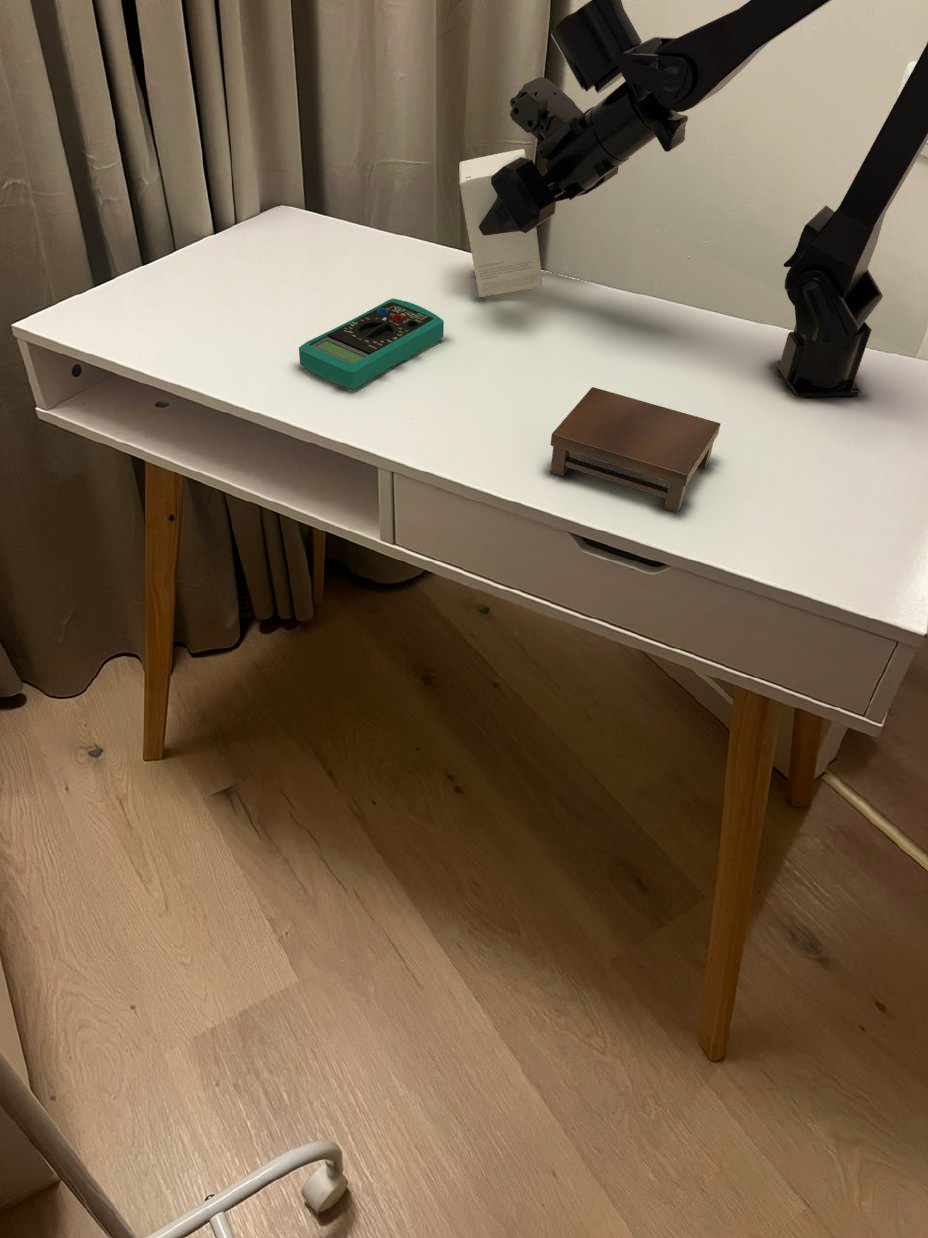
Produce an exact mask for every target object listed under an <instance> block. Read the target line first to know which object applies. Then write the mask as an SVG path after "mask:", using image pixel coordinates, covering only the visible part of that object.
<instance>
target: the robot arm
mask: <svg viewBox="0 0 928 1238" xmlns="http://www.w3.org/2000/svg"><path fill="white" fill-rule="evenodd" d="M832 1H833V0H748V1H747V2H746V3H744V4H743V5H742V6H740V7H738V8H737V9H735V10H733V11H731V12H729V13H726V14H724V15H722V16H720V17H718V18H716V19H714V20H711V21H709V22H708V23H705V24H703V25H701V26H698V27H697V28H695V29H693V30H691V31H688V32H686V33H684V34H682V35H681V36H679V37H664V36H653V37H652V38H649V39H647V40H644V41H643V42H642V39H641V37H640V36H639V34H638V31H637V29H636V28H635V26H634V24H633V23H632V21H631V19H630V17H629V16H628V14H627V12H626V10H625V8H624V5H623V1H622V0H589V1H588V2H587V3H585V4H584V5H582V6H581V7H580V8H578V9H577V10H576V11H574V12H571V13H569V14H568V15H566V16H565V17H564V18H563V19H562V20H560V22H559V23H558V24H557V25H556V26H555V27H554V28H553V30H552V31H551V32H550V36H551V38H552V40H553V42H554V43H555V45H556V47H557V49H558V50H559V52H560V54H561V56H562V57H563V59H564V61H565V62H566V64H567V66H568V68H569V70H570V72H571V73H572V75H573V77H574V78H575V80H576V82H577V84H578V85H579V87H580V89H581V90H583V91H585V92H589V91H591V90H592V89H593V88H594V90H595V92H596V94H600V93H602V92H603V91H605V90H607V89H608V88H609V87H611V86H613V84H615V83H616V82H617V81H619V80H620V79H621V78H622V77H623V80H624V82H622V84H620V85H619V86H618V87H616V88H615V89H614V90H612V92H610V93H609V94H608V95H606V97H604V98H603V99H602V100H601V101H599V102H598V103H597V104H596V105H595V106H592V107H590V108H588V109H587V110H585V111H584V112H583V111H582V110H581V109H580V108H579V107H578V106H577V103H575V101H574V100H573V99H571V97H569V95H567V94H566V93H565V92H564V91H563V90H561V88H559V87H558V86H557V85H556V84H555V83H554V82H553V81H552V80H550V79H548V78H546V77H543V76H539V77H537V78H534V79H532V80H530V81H528V82H526V83H524V84H523V85H522V87H521V89H520V90H519V91H518V93H517V94H516V95H515V96H513V97H512V98H510V100H509V106H510V107H511V110H510V111H509V116H510V119H511V120H512V122H513V123H515V124H516V125H517V126H518V127H519V128H521V129H522V130H523V131H524V132H525V133H527V134H529V133H530V134H531V135H532V136H534V137H535V138H536V139H537V140H538V141H541V142H540V143H539V144H538V145H537V146H536V147H535V149H536V151H537V152H538V154H539V155H540V157H541V159H545V161H544V165H545V169H546V173H544V174H543V175H542V174H541V173H540V171H539V169H538V167H537V166H536V163H534V161H533V159H530V158H527V157H526V158H522V157H520V158H518V159H516V160H515V161H513V162H511V163H509V164H507V165H505V166H503V167H502V168H501V169H500V170H499V171H498V172H496V173H495V174H494V175H493V176H492V177H491V184H492V186H493V188H494V190H495V192H496V193H497V198H496V200H495V202H494V203H493V205H492V207H491V208H490V210H489V211H488V213H487V214H486V216H485V217H484V219H483V220H482V222H481V224H480V225H479V229H480V231H481V233H482V234H483V235H484V236H486V235H494V234H501V233H509V232H520V231H521V232H523V233H527V232H529V231H530V230H532V229H533V228H535V227H536V228H537V227H538V226H539V225H541V224H542V223H544V222H545V221H547V220H548V219H549V218H551V217H552V216H553V215H555V214H556V205H557V202H560V201H561V202H562V201H564V200H569V201H572V200H573V199H575V198H577V197H580V196H584V195H587V194H589V193H590V192H592V191H593V190H596V189H598V188H600V187H601V186H602V185H605V184H606V183H607V182H608V181H610V180H611V179H612V178H614V177H615V176H616V175H618V173H619V167H620V166H621V165H623V164H625V162H627V161H628V160H629V159H630V157H632V156H633V155H634V154H636V153H637V152H638V151H640V150H641V149H642V148H644V147H645V146H646V145H648V144H649V143H651V142H652V141H654V139H657V141H658V143H659V144H660V146H661V148H662V149H663V151H664V152H665V153H669V152H671V151H672V150H674V149H676V148H677V147H678V146H680V145H682V144H683V143H684V142H685V139H686V126H687V123H688V120H689V116H688V115H686V114H681V113H684V112H686V111H689V110H691V109H693V108H695V107H697V106H698V105H699V104H701V103H703V102H704V101H706V100H708V99H709V98H711V97H713V96H715V95H717V94H718V93H719V92H721V90H723V89H724V87H726V86H727V85H728V84H729V83H730V82H731V81H732V80H733V79H734V78H735V77H736V76H737V75H738V74H740V72H741V71H742V70H744V69H745V68H746V67H747V66H748V65H749V64H750V63H751V61H752V60H753V59H754V58H755V57H756V56H757V55H758V54H759V53H760V52H761V51H762V50H763V49H764V48H766V46H767V45H769V43H771V42H772V41H774V40H775V39H777V38H778V37H780V36H781V35H783V34H784V33H786V32H787V31H788V30H790V29H791V28H793V27H795V26H796V25H797V24H799V23H801V22H802V21H803V20H805V19H807V18H808V17H810V15H813V14H814V13H816V12H817V11H819V10H820V9H821V8H823V7H825V6H826V5H828V4H829V3H830V2H832ZM927 143H928V41H927V42H926V45H925V47H924V48H923V50H922V52H921V54H920V56H919V58H918V59H917V62H916V63H915V65H914V67H913V68H912V71H911V73H910V75H909V76H908V77H907V80H906V82H905V84H904V86H903V88H902V89H901V91H900V93H899V95H898V97H897V99H896V100H895V102H894V104H893V105H892V108H891V110H890V111H889V113H888V115H887V117H886V118H885V121H884V122H883V124H882V126H881V128H880V130H879V132H878V134H877V135H876V138H875V139H874V141H873V143H872V145H871V147H870V148H869V150H868V151H867V154H866V156H865V158H864V159H863V161H862V163H861V165H860V167H859V169H858V171H857V173H856V174H855V176H854V177H853V180H852V182H851V184H850V186H849V187H848V188H847V191H846V192H845V195H844V197H843V199H842V200H841V202H840V203H839V206H838V207H837V209H835V211H834V210H833V209H832V208H830V206H828V205H824V206H823V208H821V209H820V210H819V211H818V212H817V213H816V214H815V215H814V216H813V217H812V218H811V219H810V220H809V221H808V222H807V223H806V224H804V226H803V228H802V231H801V233H800V236H799V239H798V242H797V246H796V248H795V251H794V252H793V253H792V255H791V256H790V257H788V259H787V260H786V261H785V262H784V263H783V267H784V268H789V270H788V271H787V273H786V276H785V279H784V290H785V291H786V295H787V297H788V299H789V301H790V302H791V304H792V305H793V306H794V315H795V325H794V328H793V331H789V332H788V334H787V336H786V337H787V338H786V340H785V344H784V347H783V351H782V354H781V359H779V360H777V362H776V368H777V369H778V370H779V372H780V373H781V375H782V377H783V378H784V380H785V381H786V383H787V385H788V386H789V388H790V389H791V391H792V392H793V394H794V395H795V397H796V396H797V397H799V398H814V397H815V398H816V397H821V398H822V397H857V396H859V395H860V393H861V389H860V387H859V386H858V384H857V383H856V382H855V381H856V377H857V375H858V372H859V368H860V367H861V363H862V360H863V357H864V354H865V350H866V348H867V345H868V342H869V338H870V336H871V333H872V328H871V327H870V326H869V325H868V324H867V322H866V320H867V319H868V318H869V316H870V315H871V314H872V313H873V311H874V310H875V308H876V307H877V306H878V304H879V303H880V302H881V301H882V299H883V297H884V296H883V295H884V294H883V293H882V291H881V289H880V288H879V286H878V285H877V282H876V281H875V278H874V277H873V275H872V273H871V272H870V271H869V269H868V268H869V265H870V263H871V260H872V257H873V254H874V252H875V250H876V247H877V244H878V242H879V238H880V233H881V231H882V226H883V222H884V219H885V216H886V214H887V212H888V209H889V208H890V207H891V205H892V203H893V201H894V199H895V198H896V196H897V194H898V192H899V191H900V189H901V188H902V186H903V184H904V182H905V181H906V179H907V177H908V176H909V173H910V172H911V170H912V168H913V167H914V165H915V163H916V161H918V158H919V156H920V155H921V153H922V151H923V149H924V148H925V146H926V144H927Z"/></svg>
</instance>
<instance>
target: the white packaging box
mask: <svg viewBox="0 0 928 1238" xmlns="http://www.w3.org/2000/svg"><path fill="white" fill-rule="evenodd" d="M520 157H522V158H526V159H527V155H526V151H525V149H524V148H520V149H515V150H509V151H504V152H499V153H495V154H490V155H485V156H481V157H476V158H472V159H467V160H463V161H462V160H461V161H460V162H459V170H458V171H459V173H458V175H459V180H458V181H459V190H460V197H461V201H462V206H463V212H464V218H465V224H466V229H467V235H468V241H469V246H470V251H471V257H472V263H473V269H474V275H475V281H476V287H477V294H478V297H479V298H483V297H489V296H497V295H502V294H507V293H513V292H519V291H524V290H530V289H531V290H532V289H536V288H542V286H543V285H544V281H543V273H542V266H541V257H540V247H539V239H538V230H537V226H536V227H535V228H533V229H532V230H530V231H529V232H527V233H523V232H521V231H520V232H509V233H501V234H494V235H486V236H484V235H483V234H482V233H481V231H480V229H479V225H480V224H481V222H482V220H483V219H484V217H485V216H486V214H487V213H488V211H489V210H490V208H491V207H492V205H493V203H494V202H495V200H496V198H497V193H496V192H495V190H494V188H493V186H492V184H491V177H492V176H493V175H494V174H495V173H496V172H498V171H499V170H500V169H501V168H502V167H503V166H505V165H507V164H509V163H511V162H513V161H515V160H516V159H518V158H520Z"/></svg>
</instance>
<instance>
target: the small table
mask: <svg viewBox="0 0 928 1238" xmlns="http://www.w3.org/2000/svg"><path fill="white" fill-rule="evenodd" d="M720 428H721V423H720V422H717V421H714V420H710V419H707V418H704V417H700V416H696V415H693V414H689V413H686V412H682V411H679V410H675V409H671V408H668V407H665V406H661V405H658V404H654V403H651V402H647V401H644V400H641V399H636V398H633V397H630V396H625V395H624V394H623V395H622V394H618V393H615V392H612V391H608V390H605V389H601V388H597V387H595V386H592V387H591V388H590V389H589V390H588V391H587V392H586V393H585V395H584V396H583V397H582V398H581V399H580V401H579V402H578V403H577V404H576V405H575V406H574V408H573V409H571V411H570V412H569V413H568V415H567V416H566V417H565V418H564V419H563V420H562V421H561V423H560V424H559V425H558V426H557V427H556V428H555V429H554V430H553V432H551V436H550V446H551V447H552V456H551V464H550V473H551V474H553V475H554V474H555V475H558V476H560V477H564V476H565V474H566V473H567V472H568V471H569V469H571V470H574V471H578V472H581V473H584V474H588V475H589V476H590V475H591V476H593V477H597V478H600V479H603V480H606V481H608V482H609V481H610V482H613V483H615V484H619V485H621V486H626V487H628V488H632V489H635V490H638V491H642V492H645V493H648V494H650V495H654V496H657V497H660V498H664V499H665V502H664V507H663V509H664V510H667V511H670V512H674V513H678V512H679V511H680V509H681V508H682V506H683V504H684V503H683V502H684V499H685V493H686V489H687V485H688V483H689V482H690V480H691V478H692V476H693V475H694V473H695V472H696V470H697V469H698V468H701V469H703V470H704V469H706V468H707V466H708V464H709V463H710V459H711V454H712V451H713V447H714V443H715V441H716V439H717V437H718V435H719V432H720ZM571 453H574V454H577V455H580V456H583V457H587V458H589V459H593V460H596V461H599V462H603V463H606V464H608V465H609V464H610V465H612V466H616V467H620V468H622V469H625V470H629V471H632V472H635V473H638V474H642V475H645V476H648V477H652V478H654V479H658V480H661V481H665V482H667V483H668V487H667V486H664V485H661V484H658V483H655V482H651V481H648V480H644V479H642V478H640V477H639V478H638V477H636V476H633V475H629V474H626V473H623V472H619V471H617V470H613V469H610V468H607V467H603V466H600V465H597V464H593V463H590V462H587V461H584V460H582V459H581V460H580V459H578V458H574V457H571Z"/></svg>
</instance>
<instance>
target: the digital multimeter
mask: <svg viewBox="0 0 928 1238" xmlns="http://www.w3.org/2000/svg"><path fill="white" fill-rule="evenodd" d="M444 324H445V321H444V320H443V318H441V317H440V316H438V314H435V313H434V312H432V311H430V310H428V309H426V308H425V307H423V306H420V305H418V304H415V303H413V302H410V301H406V300H402V299H397V298H390V299H387V300H386V301H384V302H383V303H380V304H378V305H376V306H374V307H373V308H371V309H369V310H367V311H366V312H364V313H362V314H360V315H358V316H357V317H354V318H352V319H351V320H348V321H346V322H344V323H343V324H340V325H339V326H336V327H335V328H333V329H330V330H329V331H327V332H324V333H322V334H320V335H318V336H317V337H314V338H311V339H309V340H307V341H306V342H305V343H303V344H301V345H300V346H298V355H299V356H298V357H299V365H300V366H301V367H303V368H305V369H307V370H308V371H310V372H312V373H314V374H316V375H318V376H320V377H321V378H324V379H326V380H327V381H331V382H333V383H335V384H337V385H339V386H343V387H345V388H347V389H350V390H355V389H357V388H358V387H360V386H362V385H364V384H365V383H367V382H368V381H371V380H372V379H374V378H376V377H377V376H379V375H381V374H382V373H384V372H386V371H388V370H389V369H391V368H393V367H394V366H396V365H398V364H400V363H402V362H403V361H405V360H407V359H409V358H410V357H411V356H414V355H416V354H417V353H419V352H421V351H422V350H424V349H426V348H427V347H430V346H431V345H433V344H435V343H436V342H439V341H440V340H441V339H443V338H444V331H445V329H444V328H445V327H444Z"/></svg>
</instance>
